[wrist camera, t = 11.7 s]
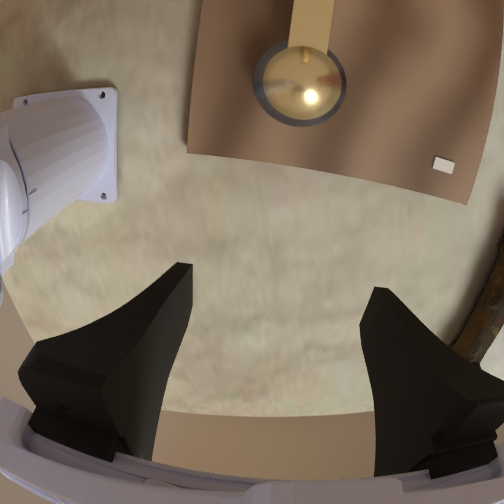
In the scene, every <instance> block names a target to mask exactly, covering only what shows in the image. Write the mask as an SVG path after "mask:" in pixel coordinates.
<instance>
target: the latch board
mask: <svg viewBox="0 0 504 504" xmlns="http://www.w3.org/2000/svg"><path fill="white" fill-rule="evenodd" d="M293 3H294V0H203V2H202V9H201V16H200V23H199V30H198V38H197V46H196V54H195V63H194V72H193V81H192V92H191V102H190V114H189V127H188V140H187V153H192V154H202V155H212V156H221V157H230V158H238V159H246V160H253V161H261V162H268V163H275V164H281V165H288V166H294V167H300V168H306V169H312V170H318V171H323V172H329V173H334V174H340V175H345V176H350V177H355V178H360V179H364V180H369V181H374V182H378V183H383V184H387V185H392V186H396V187H400V188H404V189H409V190H413V191H417V192H421V193H425V194H428V195H432V196H436V197H440V198H444V199H447V200H451V201H454V202H458V203H461V204H465V205H467V203H468V200H469V197H470V194H471V191H472V188H473V185H474V182H475V179H476V175H477V172H478V169H479V165H480V162H481V158H482V154H483V150H484V146H485V142H486V138H487V134H488V130H489V125H490V121H491V116H492V111H493V106H494V100H495V95H496V89H497V82H498V75H499V67H500V59H501V49H502V36H503V15H504V0H334V6H333V14H332V21H331V29H330V36H329V43H328V50H327V56H328V57H330V58H331V59H332V61H333V62H334V63H335V65H336V66H337V68H338V70H339V73H340V76H341V84H342V86H341V93H340V96H339V99H338V101H337V102H336V104H335V105H334V107H333V108H332V109H331V110H330V111H328V112H327V113H326V114H324V115H322V116H320V117H317V118H314V119H309V120H300V119H294V118H291V117H288V116H286V115H284V114H282V113H280V112H279V111H278V110H277V109H275V108H274V107H273V106H272V104H271V103H270V102H269V100H268V98H267V96H266V94H265V91H264V86H263V76H264V72H265V69H266V67H267V65H268V63H269V62H270V60H271V59H272V58H273V57H274V56H275V55H276V54H278V53H279V52H281V51H282V50H284V49H287V46H288V38H289V31H290V24H291V17H292V10H293Z"/></svg>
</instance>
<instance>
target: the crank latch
mask: <svg viewBox="0 0 504 504" xmlns="http://www.w3.org/2000/svg"><path fill="white" fill-rule="evenodd" d="M333 6H334V0H294V3H293V10H292V17H291V24H290V31H289V38H288V46H287V49H284V50H282V51H281V52H279V53H278V54H276V55H275V56H274V57H273V58H272V59H271V60H270V62H269V63H268V65H267V67H266V69H265V72H264V76H263V86H264V91H265V94H266V96H267V98H268V100H269V102H270V103H271V104H272V106H273V107H274V108H275V109H277V110H278V111H279V112H280V113H282V114H284V115H286V116H288V117H291V118H294V119H300V120H309V119H314V118H317V117H320V116H322V115H324V114H326V113H327V112H328V111H330V110H331V109H332V108H333V107H334V105H335V104H336V102H337V101H338V99H339V96H340V93H341V86H342V84H341V76H340V73H339V70H338V68H337V66H336V65H335V63H334V62H333V61H332V59H331V58H330V57H328V56H327V50H328V43H329V36H330V29H331V21H332V14H333Z"/></svg>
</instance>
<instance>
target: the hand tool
mask: <svg viewBox="0 0 504 504" xmlns="http://www.w3.org/2000/svg"><path fill="white" fill-rule="evenodd" d="M498 248H499V250H500V252H499V256H498V259H497V261H496V263H495V266H494V268H493V270H492V273H491V275H490V278H489V280H488V282H487V284H486V286H485V289H484V291H483V293H482V295H481V296H480V298H478V302H477V305H476V307H475V309H474V310H473V312H472V314H471V317H470V319H469V320H468V322H467V324H466V326H465V328H464V329H463V331H462V333H461V335H460V337H459V338H458V340H457V341H454V342H452V343H450V344H449V347H450V348H451V349H452V350H453V351H455V352H456V353H457V354H459V355H460V356H462V357H463V358H464V359H466V360H467V361H469V362H470V363H472V364H473V365H475V366H477V367H478V368H480V369H481V367H480V362H481V360H482V359H483V357H484V355H485V353H486V352H487V350H488V348H489V347H490V346H491V344H492V342H493V341H494V339H495V338H496V336H497V334H498V333H499V331H500V330H501V328H502V326H503V324H504V240H503V241H502V242H500V243H499V244H498Z"/></svg>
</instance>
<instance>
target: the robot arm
mask: <svg viewBox="0 0 504 504" xmlns="http://www.w3.org/2000/svg"><path fill="white" fill-rule="evenodd" d="M102 92H105V98H102V96H101V94H102ZM117 100H118V92H117V90H116V89H115V88H114V87H103V88H87V89H75V90H65V91H56V92H48V93H40V94H33V95H27V96H21V97H17V98H15V99H14V101H13V109H11V110H7V111H4V112H0V307H1V304H2V300H3V284H2V278H1V276H2V275H3V274H4V273H5V272H6V271H7V270H8V269H9V268H10V267H11V266H12V265H13V264H14V253H15V250H16V249H17V247H19V246H20V245H21V244H22V243H23V242H24V241H26V240H27V239H28V238H29V237H30V236H31V235H32V234H34V233H35V232H36V231H37V230H38V229H40V228H41V227H42V226H43V225H44V224H46V223H47V222H48V221H49V220H50V219H52V218H53V217H54V216H55V215H57V214H58V213H59V212H60V211H62V210H63V209H64V208H65V207H67V206H68V205H69V204H71V203H72V202H73V201H75V200H84V201H94V202H103V203H113V202H115V201H116V200H117V197H118V190H117ZM26 101H28V103H26ZM103 193H105V194H106V196H107V197H104V196H103ZM192 306H193V264H187V263H180V262H177V263H176V264H174V265H173V266H172V267H171V268H170V269H169V270H167V271H166V272H165V273H164V274H163V275H162V276H161V277H159V278H158V279H157V280H156V281H155V282H154V283H152V284H151V285H150V286H149V287H148V288H146V289H145V290H144V291H143V292H141V293H140V294H139V295H137V296H136V297H134V298H133V299H132V300H130V301H129V302H128V303H126V304H125V305H123V306H122V307H120V308H118V309H117V310H115V311H113V312H112V313H110V314H108V315H106V316H104V317H102V318H100V319H98V320H96V321H94V322H92V323H90V324H88V325H86V326H83V327H81V328H79V329H76V330H73V331H71V332H68V333H65V334H62V335H59V336H56V337H52V338H48V339H45V340H41V341H37V342H36V344H35V345H34V346H33V348H32V350H31V351H30V352H29V354H28V356H27V357H26V359H25V360H24V362H23V363H22V365H21V367H20V368H19V371H18V376H19V380H20V382H21V383H22V386H23V387H24V389H25V390H26V392H27V393H28V395H29V396H30V398H31V399H32V401H33V402H34V404H35V405H36V408H35V410H34V412H33V413H32V412H31V411H29V410H28V409H27V408H25V407H23V406H21V405H19V404H17V403H15V402H13V401H11V400H9V399H7V398H5V397H2V398H1V400H0V472H1V473H2V474H3V475H5V476H6V477H7V478H9V479H11V480H12V481H14V482H15V483H17V484H19V485H20V486H22V487H24V488H26V489H27V490H30V491H31V492H33V493H35V494H37V495H39V496H41V497H42V498H44V499H46V500H48V501H50V502H52V503H54V504H504V443H501V444H499V445H498V446H496V447H495V445H494V442H493V441H494V440H496V439H497V434H496V431H495V430H496V429H497V428H498V427H500V426H501V425H502V424H503V423H504V381H503V380H501V379H499V378H497V377H495V376H493V375H491V374H489V373H487V372H485V371H483V370H482V369H480V368H478V367H477V366H475V365H473V364H472V363H470V362H469V361H467V360H466V359H464V358H463V357H462V356H460V355H459V354H457V353H456V352H455V351H453V350H452V349H451V348H450V347H449V346H447V345H446V344H445V343H444V342H442V341H441V340H440V339H439V338H438V337H437V336H436V335H435V334H433V333H432V332H431V331H430V330H429V329H428V328H427V327H426V326H425V325H424V324H423V323H422V322H421V321H420V320H419V319H418V318H417V317H416V316H415V315H414V314H413V313H412V312H411V311H410V310H409V309H408V307H407V306H406V305H405V304H404V303H403V302H402V301H401V300H400V299H399V298H398V297H397V296H396V295H395V294H394V293H393V292H392V291H391V290H389V289H388V288H382V287H374V289H373V292H372V294H371V297H370V300H369V302H368V305H367V307H366V310H365V312H364V314H363V317H362V319H361V322H360V324H359V326H360V337H361V345H362V350H363V354H364V358H365V363H366V367H367V371H368V375H369V379H370V384H371V388H372V394H373V400H374V411H375V430H376V453H375V454H376V455H375V470H374V477H370V478H359V479H342V480H278V479H262V478H249V477H239V476H230V475H221V474H215V473H208V472H202V471H196V470H190V469H185V468H180V467H175V466H170V465H166V464H161V463H157V462H152V453H153V448H154V440H155V436H156V430H157V424H158V420H159V415H160V411H161V406H162V401H163V397H164V393H165V389H166V385H167V381H168V377H169V374H170V371H171V368H172V366H173V363H174V360H175V358H176V355H177V352H178V350H179V347H180V345H181V342H182V339H183V337H184V334H185V332H186V329H187V326H188V322H189V318H190V314H191V310H192Z"/></svg>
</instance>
